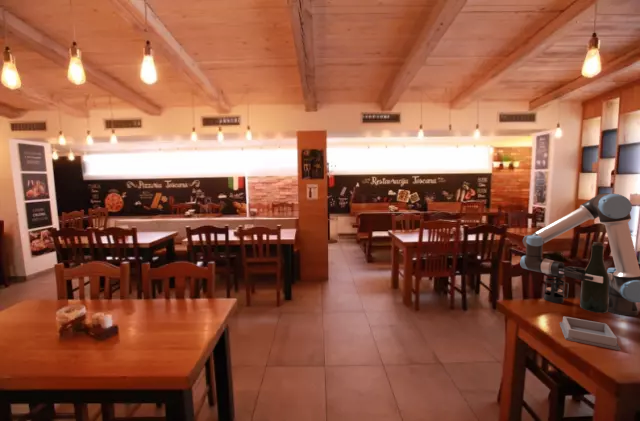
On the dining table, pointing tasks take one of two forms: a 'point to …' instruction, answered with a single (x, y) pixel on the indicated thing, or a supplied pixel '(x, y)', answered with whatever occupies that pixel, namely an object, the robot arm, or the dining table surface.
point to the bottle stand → (589, 332)
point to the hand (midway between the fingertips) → (607, 278)
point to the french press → (555, 289)
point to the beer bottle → (595, 283)
